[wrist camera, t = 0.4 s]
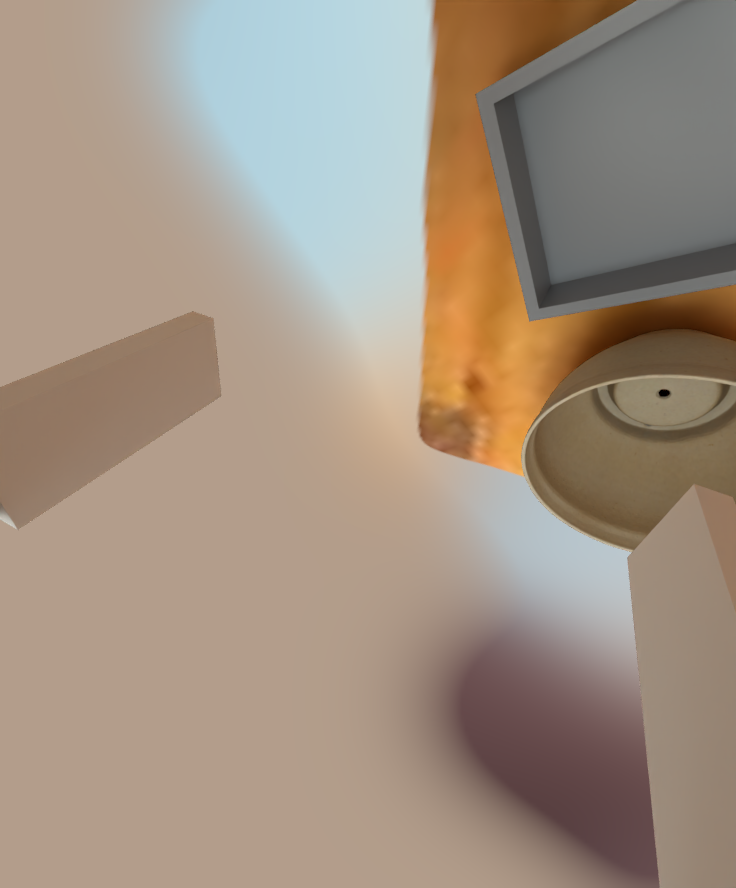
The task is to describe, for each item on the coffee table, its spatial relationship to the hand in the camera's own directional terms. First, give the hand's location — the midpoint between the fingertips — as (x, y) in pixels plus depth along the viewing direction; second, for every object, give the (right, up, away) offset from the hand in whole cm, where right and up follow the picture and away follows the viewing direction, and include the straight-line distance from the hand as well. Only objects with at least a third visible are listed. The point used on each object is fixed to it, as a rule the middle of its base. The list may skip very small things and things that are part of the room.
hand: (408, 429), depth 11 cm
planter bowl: (+22, +4, +20) cm, 31 cm away
